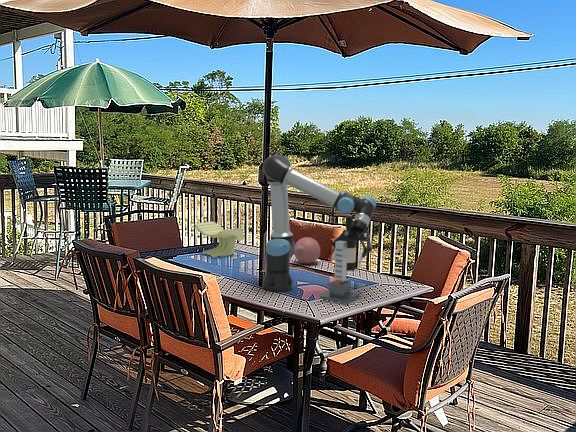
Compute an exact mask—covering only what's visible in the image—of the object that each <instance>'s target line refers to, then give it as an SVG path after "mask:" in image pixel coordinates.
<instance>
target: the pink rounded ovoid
mask: <svg viewBox="0 0 576 432" xmlns="http://www.w3.org/2000/svg"><path fill="white" fill-rule="evenodd" d="M293 255H294V257H295V259H296V260H297V261H298V262H300V263H301V264H306V265H310V264H313V263H314V262H315V263H316V261H317V260H318V258H319V257H320V255H321V246H320V244H319V242H318V241H317V240H316V239H314V238H312V237H309V236H305V237H302V238H300V239H298V240H297V241H296V242H295V251H294V254H293Z"/></svg>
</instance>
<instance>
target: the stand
mask: <svg viewBox="0 0 576 432" xmlns="http://www.w3.org/2000/svg"><path fill="white" fill-rule="evenodd" d="M351 283H352V282H351V280H346V283H344V284H341V281H335V279H333V280H332V281H330V282H329V290H328V291H326V292H323V294H320V295H319V300H320V299H323V300H328V301H333V302H340V303H345V304H348V303H350V302H351V303H353V302H355V301H356V300H357V298H358V299H359V297H361V293H360V292H355V291H351V286H352V285H351ZM355 299H356V300H355ZM354 300H355V301H354ZM328 301H327V302H328ZM352 301H353V302H352ZM333 302H332V303H333ZM351 303H350V304H351ZM348 305H349V304H348Z"/></svg>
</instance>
